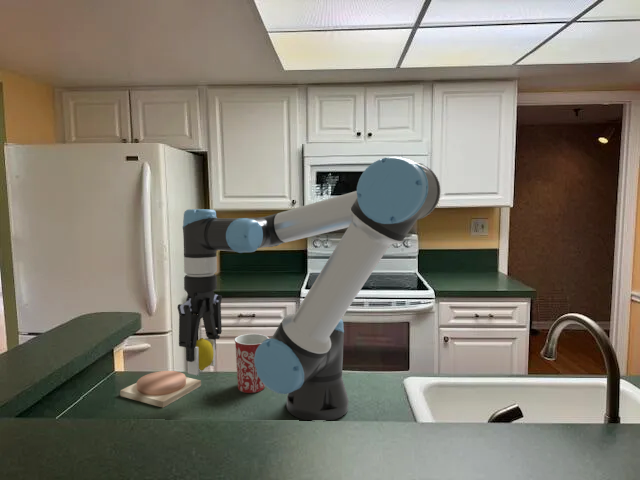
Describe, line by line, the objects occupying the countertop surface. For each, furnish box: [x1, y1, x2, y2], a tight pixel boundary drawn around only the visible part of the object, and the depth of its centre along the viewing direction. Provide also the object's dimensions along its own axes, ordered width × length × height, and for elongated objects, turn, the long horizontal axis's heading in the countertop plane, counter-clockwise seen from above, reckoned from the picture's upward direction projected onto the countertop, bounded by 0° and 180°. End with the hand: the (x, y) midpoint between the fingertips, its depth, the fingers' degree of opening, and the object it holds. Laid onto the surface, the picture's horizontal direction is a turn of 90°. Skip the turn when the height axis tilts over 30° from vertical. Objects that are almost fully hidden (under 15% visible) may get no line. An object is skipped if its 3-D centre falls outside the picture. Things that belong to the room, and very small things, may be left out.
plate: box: [119, 370, 202, 409], centre depth 114 cm, size 14×14×3 cm
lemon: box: [196, 337, 214, 371], centre depth 105 cm, size 6×6×8 cm
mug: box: [234, 333, 270, 394], centre depth 118 cm, size 13×9×14 cm
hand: (201, 369), depth 106 cm, fingers closed on lemon, 5 cm apart
